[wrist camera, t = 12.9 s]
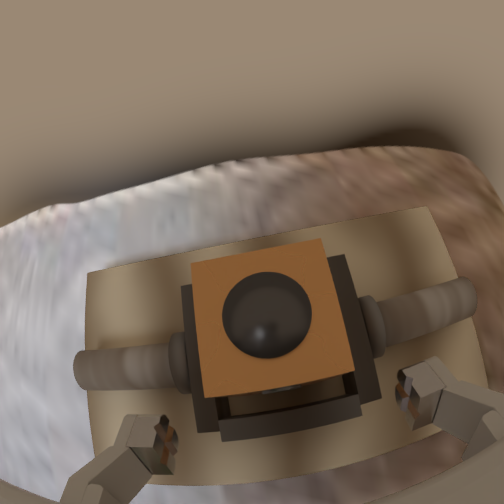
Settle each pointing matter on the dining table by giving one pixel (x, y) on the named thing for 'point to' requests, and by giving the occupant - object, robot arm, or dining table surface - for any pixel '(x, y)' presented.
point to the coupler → (268, 321)
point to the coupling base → (290, 401)
